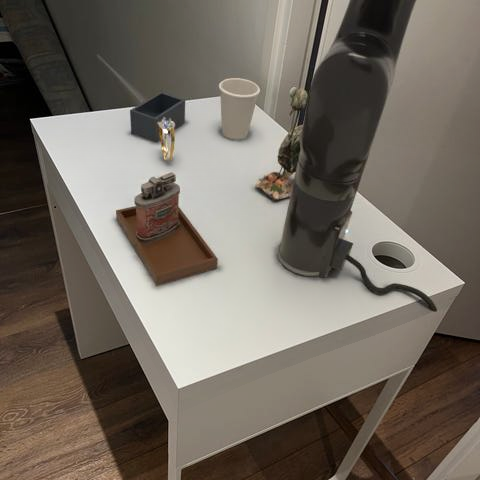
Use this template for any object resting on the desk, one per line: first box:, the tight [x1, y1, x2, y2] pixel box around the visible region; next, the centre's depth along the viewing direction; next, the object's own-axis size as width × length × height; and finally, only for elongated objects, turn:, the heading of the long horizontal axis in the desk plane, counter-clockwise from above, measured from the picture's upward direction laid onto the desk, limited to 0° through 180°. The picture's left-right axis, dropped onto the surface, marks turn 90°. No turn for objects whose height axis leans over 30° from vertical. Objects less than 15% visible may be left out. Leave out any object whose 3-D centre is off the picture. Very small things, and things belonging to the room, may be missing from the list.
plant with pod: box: [254, 87, 309, 201], centre depth 89 cm, size 8×11×20 cm
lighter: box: [133, 171, 181, 243], centre depth 79 cm, size 8×3×10 cm, turn 135°
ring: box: [158, 117, 176, 161], centre depth 96 cm, size 7×3×8 cm, turn 16°
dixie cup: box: [218, 77, 261, 141], centre depth 105 cm, size 8×8×10 cm
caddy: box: [129, 91, 186, 144], centre depth 105 cm, size 6×11×5 cm, turn 153°
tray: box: [115, 205, 218, 286], centre depth 81 cm, size 17×10×2 cm, turn 29°
